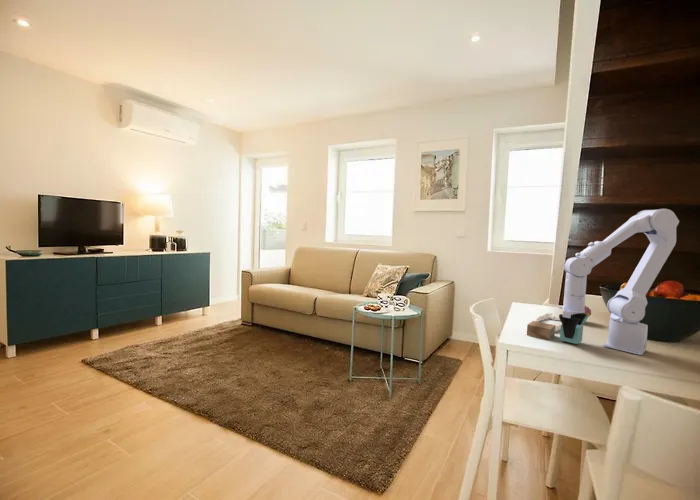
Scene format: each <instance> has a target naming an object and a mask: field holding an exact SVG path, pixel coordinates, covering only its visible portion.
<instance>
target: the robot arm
mask: <svg viewBox="0 0 700 500" xmlns="http://www.w3.org/2000/svg"><path fill="white" fill-rule="evenodd" d="M679 223H680V220H679V219H678V217H677V215H676V214H675V212H674V211H673V210H671V209H668V208H659V209H644V210H641V211H638V212H637V213H636V214H635V215H633V216H631V217H630V218H629V219H628V220H627V221H626V222H624V223H623V224H622V225H621V226H619V227H618V228H617V229H616V230H614V231H613V232H612V233H611V234H610V235H609V236H606V238H605V239H603V240H602V241H600V240H596V241H594V242H593V241H590V242H589V243H588V244H587V247H586V248H584V249H583V250H581V251H580V252H576V253H575V255H574V257H570V258H568V259H567V260H566V261H565V263H564V264H563V265H562V267H563V270H564V272H565V281H564V292H563V305H560V306H558V308H559V309H562V313H560V314H558V316H559V318H560V320H561V321H560V322H561V324H562V325H563V330H564V336H565V337H566V338H570V339H572V338H573V336H574V333H575V329H576V326H577V325H582V322H583V320H584V319H585V317H586V316H587V314H585V313H584V312H585V309H584V306H586V305H585V303H586V294H587V293H586V292H587V277H588V275H590V274H591V272H592V270H593V268H594V267H595V266H597V265H598V264H600V263H601V262H602V261H604V260H606V259H607V258H608V257H609V256H611V254H612V249H613V248H616V246H618V245H619V244H622V243H623V242H624V241H626V240H627V239H629V238H630V237H632V236H633V235H635V234H637V233H643V234H645V236H646V237H647V240H649V242H650V243H649V244H648V246H647V248H646V250H645V252H644V253H643V255H642V257H641V259H640V260H639V262H638V264H637V266H636V267H635V269H634V271H633V272H632V274H631V276H630V278H629V279H628V281H627V283H626V285H625V287H623V288H622V289H621V288H620V290H618V291H617V292H616V294H615V295H614V296H612V297H611V298H609V300H608V301H607V304H606V306H607V307H606V308H607V310H608V312H609V313H610V316H609V324H608V334H607V341H606V342H605V343H603V347H605V348H609V349H614V350H618V351H621V352H625V353H631V354H635V355H639V356H642V355H644V353H645V352H646V350H647V340H648V331H649V330H648V328H649V327H648V324H646V323H643V322H642V323H641V322H640V321H642V320H643V319H644V318H645V315H646V307H647V306H648V300H647V299H648V298H647V297H646V296H647V293H649V292H648V291H649V290H650V288H651V287H652V285H653V283H654V281H656V278H657V277H658V275H659V273H660V272H661V269H662V267H663V266H664V264H665V263H666V262H667V260H668V257H669V256H670V255H671V253H672V251H673V249H674V248H675V246H676V243H677V227H678V226H679Z"/></svg>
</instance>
